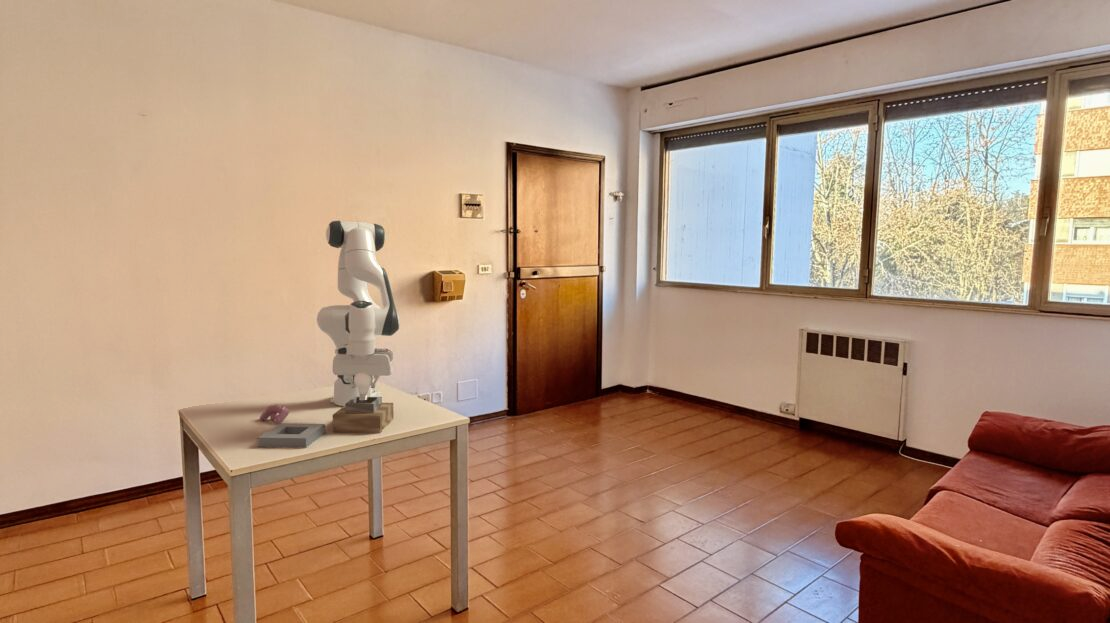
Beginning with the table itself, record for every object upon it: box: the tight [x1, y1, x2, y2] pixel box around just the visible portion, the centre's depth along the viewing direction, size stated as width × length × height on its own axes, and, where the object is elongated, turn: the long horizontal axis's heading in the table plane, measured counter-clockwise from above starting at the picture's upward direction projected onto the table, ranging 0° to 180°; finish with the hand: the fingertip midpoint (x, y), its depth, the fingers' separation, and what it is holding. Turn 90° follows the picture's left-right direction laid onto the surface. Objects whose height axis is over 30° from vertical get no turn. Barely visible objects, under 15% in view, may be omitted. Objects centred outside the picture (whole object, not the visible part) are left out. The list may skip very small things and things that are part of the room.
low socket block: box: [257, 422, 326, 448], centre depth 194 cm, size 15×15×3 cm
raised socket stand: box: [332, 396, 395, 434], centre depth 209 cm, size 16×16×9 cm
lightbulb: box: [354, 373, 374, 401], centre depth 208 cm, size 6×6×11 cm
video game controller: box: [259, 403, 290, 425], centre depth 214 cm, size 10×5×7 cm, turn 61°
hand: (363, 387), depth 208 cm, fingers closed on lightbulb, 6 cm apart
